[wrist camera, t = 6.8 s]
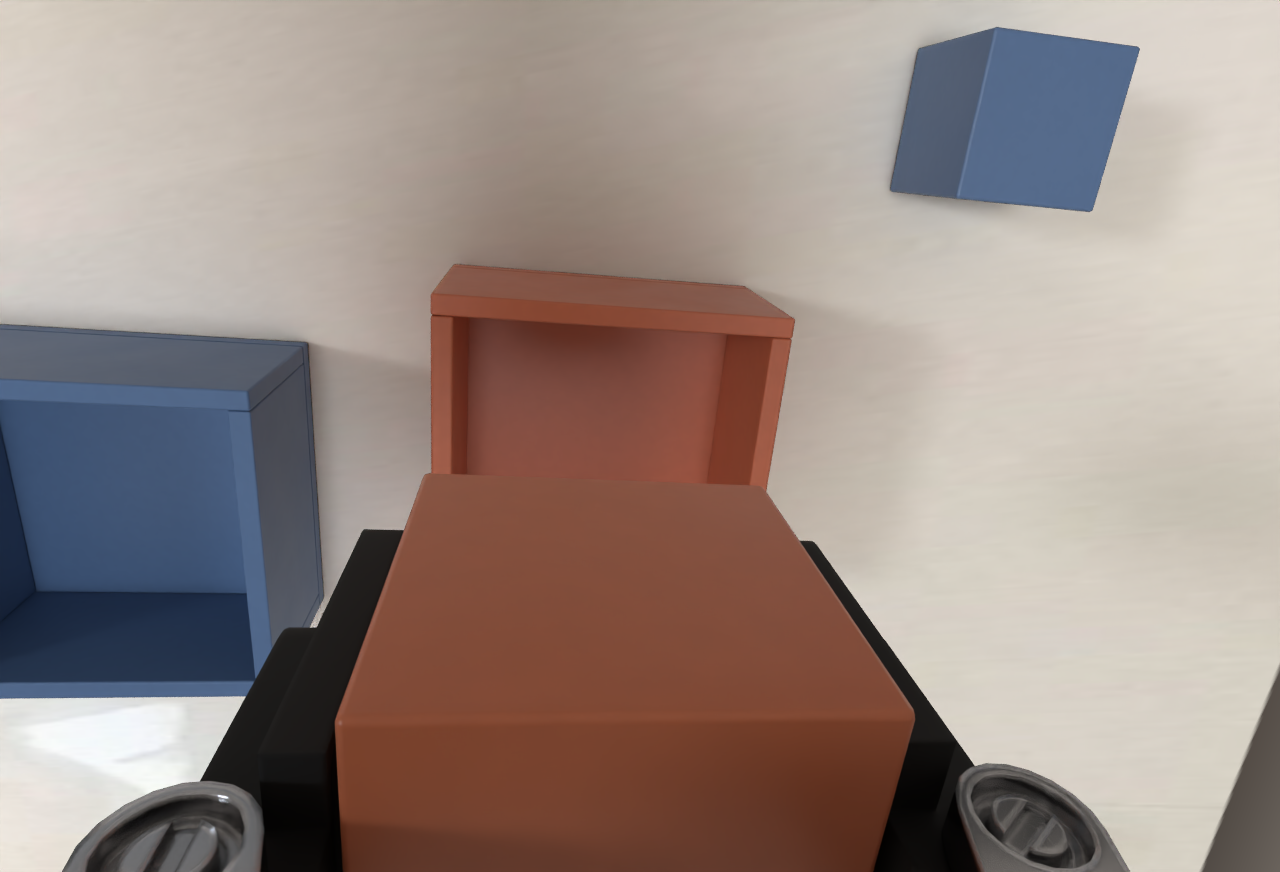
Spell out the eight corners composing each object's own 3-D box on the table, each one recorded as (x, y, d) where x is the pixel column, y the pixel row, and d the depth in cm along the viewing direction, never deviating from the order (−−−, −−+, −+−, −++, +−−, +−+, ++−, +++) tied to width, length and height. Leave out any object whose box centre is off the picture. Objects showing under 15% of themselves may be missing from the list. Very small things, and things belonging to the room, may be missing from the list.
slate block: (917, 48, 24) (995, 26, 20) (1041, 64, 25) (1141, 46, 21) (889, 191, 26) (956, 198, 22) (1006, 202, 27) (1093, 212, 22)
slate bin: (-29, 322, 24) (-188, 369, 18) (307, 342, 25) (248, 391, 20) (32, 595, 27) (-88, 700, 22) (324, 598, 29) (276, 696, 24)
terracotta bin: (452, 264, 25) (430, 293, 20) (745, 286, 26) (796, 319, 21) (451, 532, 28) (431, 617, 23) (709, 538, 30) (745, 619, 25)
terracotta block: (423, 470, 9) (330, 720, 5) (763, 483, 10) (922, 714, 6) (425, 750, 11) (353, 1115, 7) (719, 745, 12) (820, 1074, 7)
